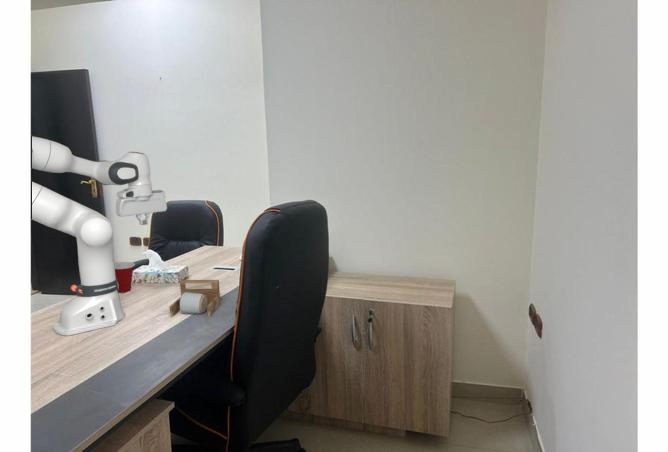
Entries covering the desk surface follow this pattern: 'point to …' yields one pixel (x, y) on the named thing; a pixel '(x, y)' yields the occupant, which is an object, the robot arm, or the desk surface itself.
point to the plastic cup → (124, 275)
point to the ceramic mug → (193, 303)
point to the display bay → (200, 287)
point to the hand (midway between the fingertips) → (143, 224)
